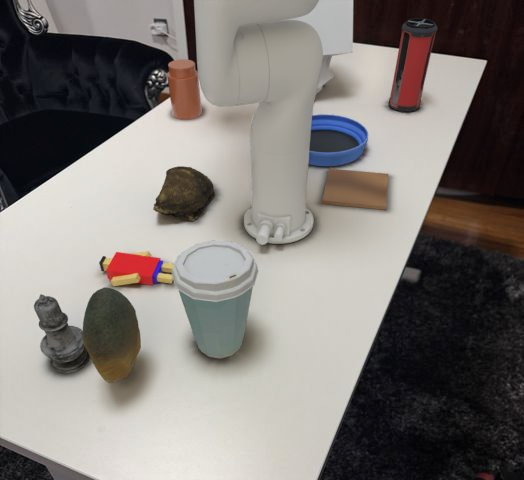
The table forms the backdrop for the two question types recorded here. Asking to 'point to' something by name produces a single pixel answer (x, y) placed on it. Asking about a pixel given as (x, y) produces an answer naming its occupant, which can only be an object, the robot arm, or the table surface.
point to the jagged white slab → (331, 31)
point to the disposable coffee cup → (216, 293)
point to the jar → (184, 89)
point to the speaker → (412, 64)
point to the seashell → (184, 193)
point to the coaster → (356, 189)
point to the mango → (111, 334)
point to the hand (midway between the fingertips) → (214, 23)
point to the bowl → (335, 140)
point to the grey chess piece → (60, 337)
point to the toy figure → (136, 269)
